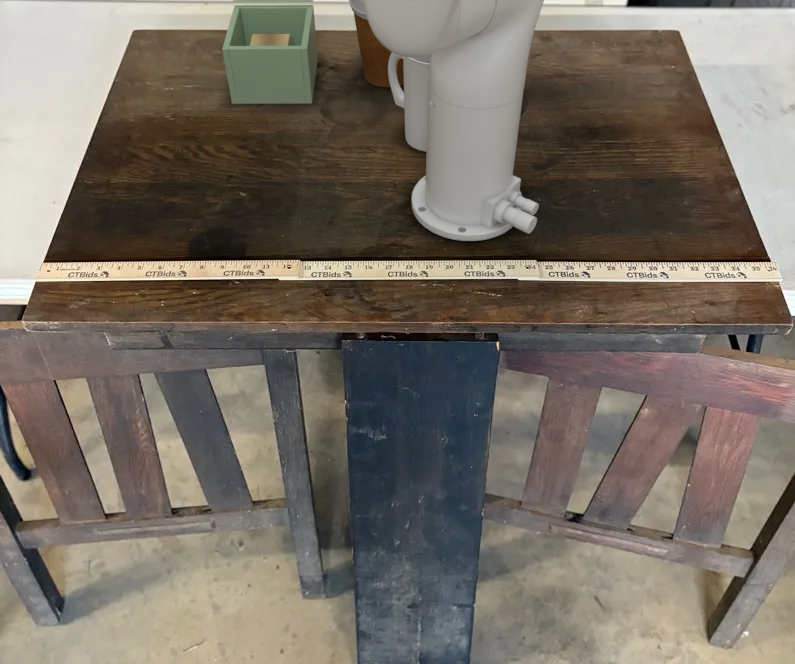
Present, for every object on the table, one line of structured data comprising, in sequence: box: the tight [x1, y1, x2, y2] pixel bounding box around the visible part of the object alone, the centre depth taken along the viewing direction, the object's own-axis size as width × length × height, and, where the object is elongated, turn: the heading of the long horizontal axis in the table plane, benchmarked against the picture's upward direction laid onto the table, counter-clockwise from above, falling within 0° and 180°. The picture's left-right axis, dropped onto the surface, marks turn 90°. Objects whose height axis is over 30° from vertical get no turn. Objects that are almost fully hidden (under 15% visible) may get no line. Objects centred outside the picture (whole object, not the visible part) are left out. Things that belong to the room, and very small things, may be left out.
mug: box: [388, 52, 431, 153], centre depth 96 cm, size 10×7×12 cm, turn 50°
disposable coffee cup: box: [348, 0, 404, 88], centre depth 105 cm, size 10×10×12 cm
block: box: [250, 34, 291, 46], centre depth 106 cm, size 5×5×5 cm
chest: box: [221, 4, 319, 105], centre depth 106 cm, size 12×11×8 cm
